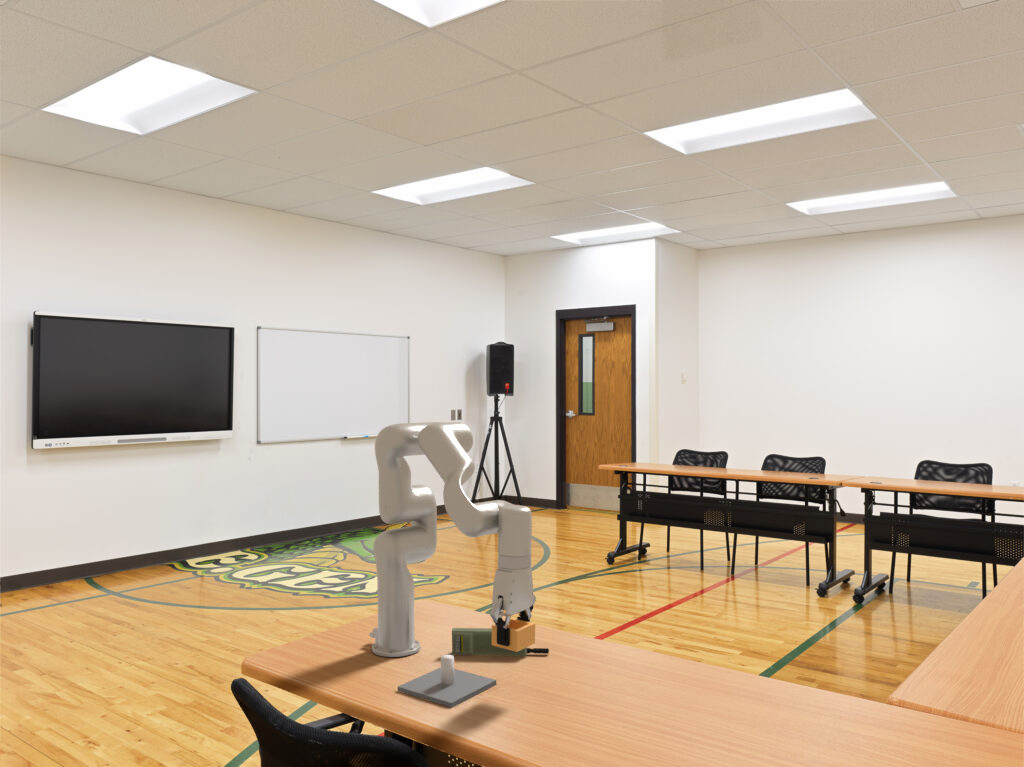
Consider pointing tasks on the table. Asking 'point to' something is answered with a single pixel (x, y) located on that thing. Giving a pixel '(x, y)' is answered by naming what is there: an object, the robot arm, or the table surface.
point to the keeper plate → (447, 692)
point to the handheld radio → (483, 643)
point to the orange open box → (517, 635)
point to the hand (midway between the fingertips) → (513, 639)
